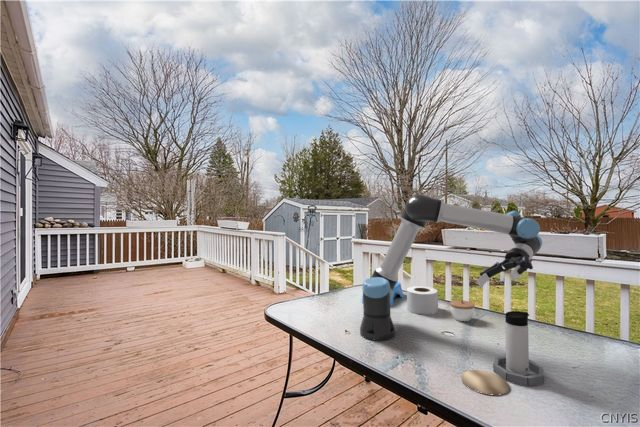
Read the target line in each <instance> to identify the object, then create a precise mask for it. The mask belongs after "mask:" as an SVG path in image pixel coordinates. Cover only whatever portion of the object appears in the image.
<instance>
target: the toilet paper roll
mask: <svg viewBox="0 0 640 427" xmlns="http://www.w3.org/2000/svg"><path fill="white" fill-rule="evenodd" d="M406 310H408V311H409V312H411V313H413V314H416V315H422V316H423V315H427V316H428V315H435V314H436V313H438V312H439V290H438V289H436V288H433V287H431V286H421V285H420V286H418V285H417V286H414V285H413V286H410V287H407V288H406Z"/></svg>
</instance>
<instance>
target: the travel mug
mask: <svg viewBox="0 0 640 427" xmlns="http://www.w3.org/2000/svg"><path fill="white" fill-rule="evenodd" d="M529 316H530V314H529V312H526V311H518V310H513V311H507V312H505V321H504V322H505V323H504V324H505V356H506V365H505V370H506V371H508V372H511V373H516V374H520V375H524V376H529V375H530V369H529V360H530V357H529V356H530V353H529V352H530V351H529V347H530V346H529V320H528V319H529V318H528V317H529Z"/></svg>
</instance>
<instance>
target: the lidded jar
mask: <svg viewBox="0 0 640 427" xmlns="http://www.w3.org/2000/svg"><path fill="white" fill-rule="evenodd" d="M449 306H450V313H451V315H452V316H453V318H455V320H456V321H458V322H462V321H464V322H465V321H467V322H470V320H471V319H472V318H473V317H474V314H475V303H474V302H471V301H469V300H463V299H460V300H459V299H456V300H454V299H453V300H451V301H450V302H449Z"/></svg>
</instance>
